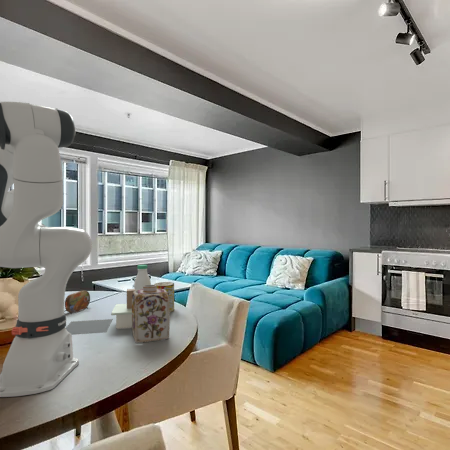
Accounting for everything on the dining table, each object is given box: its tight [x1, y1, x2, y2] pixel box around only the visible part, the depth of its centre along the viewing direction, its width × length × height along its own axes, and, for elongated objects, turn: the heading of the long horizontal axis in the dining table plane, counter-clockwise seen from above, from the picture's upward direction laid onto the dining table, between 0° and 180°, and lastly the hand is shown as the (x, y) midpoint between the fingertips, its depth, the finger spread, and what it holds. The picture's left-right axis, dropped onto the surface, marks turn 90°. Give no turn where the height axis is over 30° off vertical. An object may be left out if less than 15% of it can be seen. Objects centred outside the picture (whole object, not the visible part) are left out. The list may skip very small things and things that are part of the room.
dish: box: [115, 314, 132, 330], centre depth 125 cm, size 10×10×6 cm
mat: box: [65, 318, 113, 336], centre depth 122 cm, size 16×16×1 cm
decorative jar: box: [131, 284, 171, 344], centre depth 113 cm, size 12×12×18 cm
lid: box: [110, 288, 135, 316], centre depth 125 cm, size 13×13×8 cm
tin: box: [64, 290, 91, 314], centre depth 147 cm, size 15×3×8 cm, turn 168°
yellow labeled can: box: [153, 281, 175, 313], centre depth 147 cm, size 9×9×12 cm
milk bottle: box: [133, 264, 152, 291], centre depth 151 cm, size 8×8×20 cm
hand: (58, 256), depth 121 cm, fingers open, 8 cm apart
